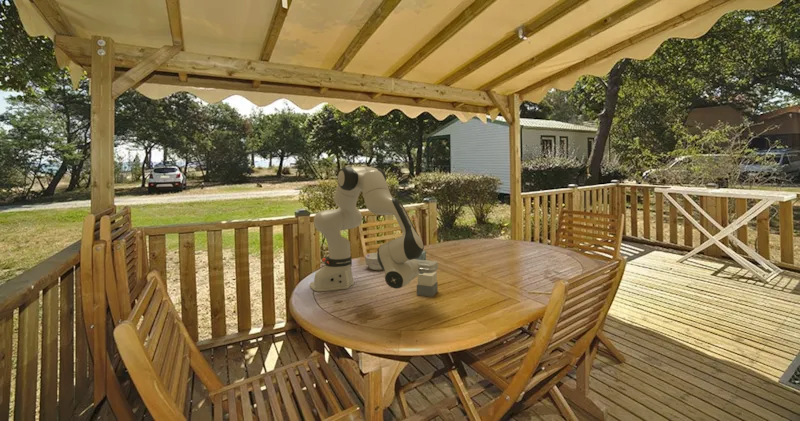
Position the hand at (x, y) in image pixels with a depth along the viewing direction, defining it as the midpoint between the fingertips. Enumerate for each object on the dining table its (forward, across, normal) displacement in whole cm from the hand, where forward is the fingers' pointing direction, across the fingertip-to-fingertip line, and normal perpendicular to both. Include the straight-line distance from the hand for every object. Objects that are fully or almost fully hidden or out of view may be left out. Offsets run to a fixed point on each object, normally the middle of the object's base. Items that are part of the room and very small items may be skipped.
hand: (419, 260), depth 161 cm
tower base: (+11, 0, +19) cm, 22 cm away
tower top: (+11, 0, +14) cm, 18 cm away
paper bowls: (+41, +40, +19) cm, 60 cm away
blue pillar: (-1, 0, +5) cm, 5 cm away
